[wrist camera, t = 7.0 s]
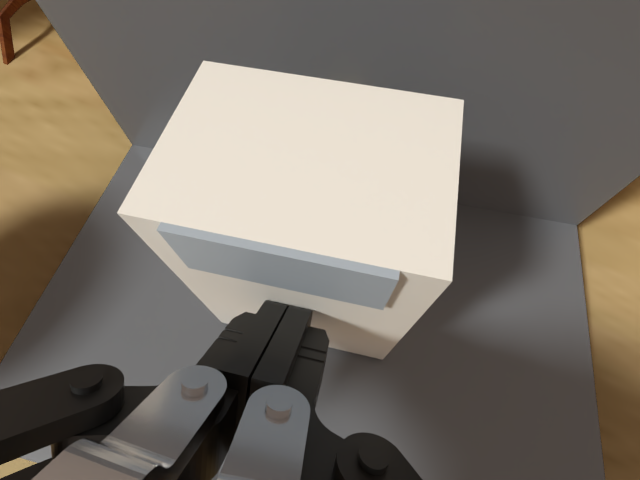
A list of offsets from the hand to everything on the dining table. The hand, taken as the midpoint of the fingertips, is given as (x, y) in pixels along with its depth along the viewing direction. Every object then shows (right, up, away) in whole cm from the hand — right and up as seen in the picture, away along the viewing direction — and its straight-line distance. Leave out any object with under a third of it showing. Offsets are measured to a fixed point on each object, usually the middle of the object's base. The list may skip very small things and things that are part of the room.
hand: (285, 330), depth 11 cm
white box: (+1, +1, +5) cm, 5 cm away
